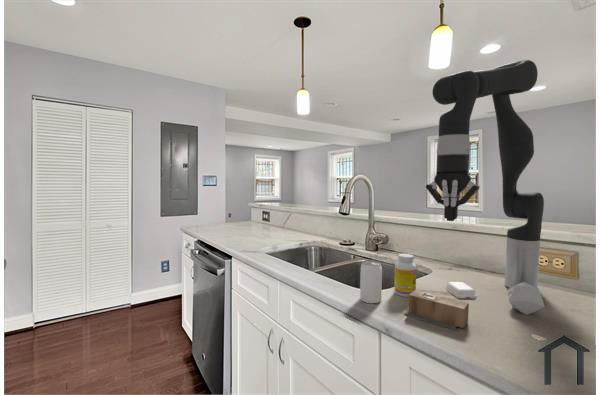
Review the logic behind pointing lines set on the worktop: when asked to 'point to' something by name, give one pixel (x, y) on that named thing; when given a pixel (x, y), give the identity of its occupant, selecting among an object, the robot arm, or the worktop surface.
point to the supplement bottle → (405, 275)
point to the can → (371, 281)
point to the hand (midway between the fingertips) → (450, 220)
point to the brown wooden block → (439, 308)
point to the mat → (430, 320)
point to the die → (525, 298)
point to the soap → (460, 290)
